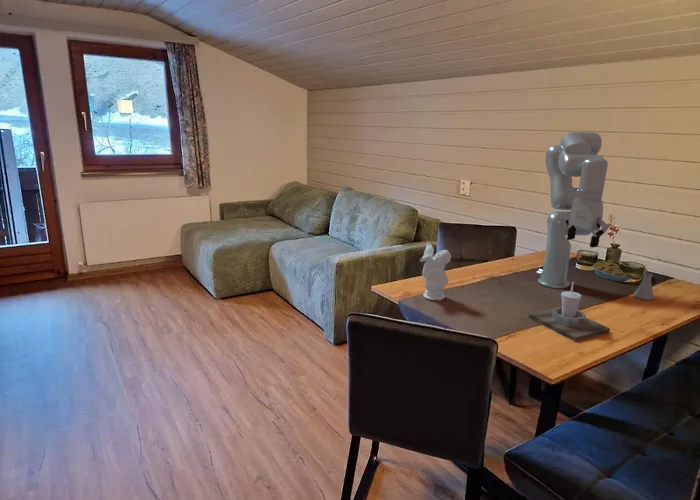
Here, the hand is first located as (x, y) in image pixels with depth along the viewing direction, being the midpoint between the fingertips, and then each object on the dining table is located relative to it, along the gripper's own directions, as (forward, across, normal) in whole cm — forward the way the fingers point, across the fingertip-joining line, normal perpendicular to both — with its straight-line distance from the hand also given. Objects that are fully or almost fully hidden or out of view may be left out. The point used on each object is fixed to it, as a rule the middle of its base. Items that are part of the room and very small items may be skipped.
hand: (581, 242), depth 162 cm
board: (+26, +8, -10) cm, 29 cm away
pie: (+29, -21, +53) cm, 64 cm away
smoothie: (+25, +8, -10) cm, 28 cm away
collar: (+25, +8, -10) cm, 28 cm away
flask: (+28, +1, +38) cm, 47 cm away
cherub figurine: (+27, -31, -41) cm, 58 cm away
